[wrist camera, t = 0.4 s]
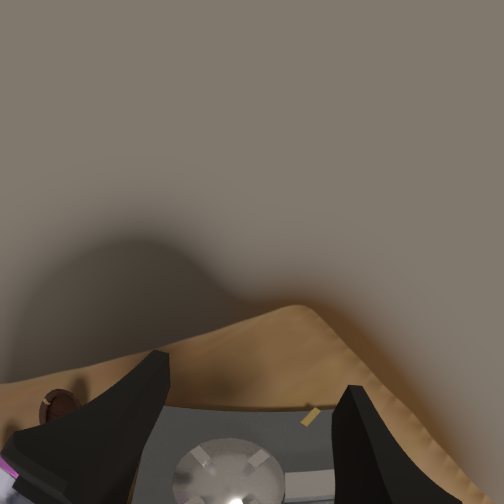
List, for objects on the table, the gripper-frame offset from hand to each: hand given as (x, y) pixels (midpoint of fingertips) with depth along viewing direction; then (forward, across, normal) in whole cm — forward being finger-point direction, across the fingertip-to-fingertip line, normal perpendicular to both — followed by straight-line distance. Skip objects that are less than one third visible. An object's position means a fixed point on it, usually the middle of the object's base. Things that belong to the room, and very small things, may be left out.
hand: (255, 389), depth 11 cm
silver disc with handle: (+2, -4, +17) cm, 18 cm away
